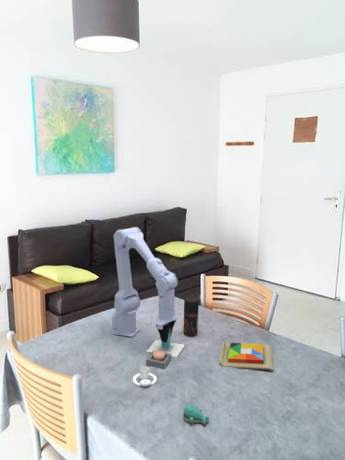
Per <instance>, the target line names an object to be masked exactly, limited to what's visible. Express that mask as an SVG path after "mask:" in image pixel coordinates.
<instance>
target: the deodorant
mask: <svg viewBox="0 0 345 460" xmlns="http://www.w3.org/2000/svg"><path fill="white" fill-rule="evenodd" d="M199 303H200V300H199V298H198V297H196V296H195V297H194V296H187V297H184V300H183V328H182V329H183V330H182V334H183V336H185V337H189V338H194V337H197V336H198V334H199V333H198V330H199V310H200V309H199V305H200V304H199Z"/></svg>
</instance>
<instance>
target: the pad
mask: <svg viewBox="0 0 345 460" xmlns="http://www.w3.org/2000/svg"><path fill="white" fill-rule="evenodd" d="M185 347H186V344H183V343H176V342H172V341H170V347H168V348H164V347H162V346H161V339H160V340H159V339H155V340H154V341H153V343H152V344H151V345H150V347H149V348H148V349H146V351H145V352H146V353H149V354H151V353H152V352H153V351H156V350H162V351H164V352H165V353H168V354H172V355H171V358H176V359H177V358H178V357H179V355H180V354H181V352H182V351H183V349H184V348H185Z"/></svg>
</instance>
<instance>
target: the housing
mask: <svg viewBox="0 0 345 460" xmlns="http://www.w3.org/2000/svg"><path fill="white" fill-rule="evenodd" d="M153 352H154V351H153ZM153 352H152V353H150V354H149V356H148V357H147V358H146V360H145V366H147V367H153V368H157V369H158V368H159V369H164V370H165V369H166V368H167V367H168V365H169V364H170V362H171V361H172V357H171V355H172V354H168V353H165V359H164V360H163V361H158V360H154V359H153Z"/></svg>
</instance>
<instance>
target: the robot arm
mask: <svg viewBox="0 0 345 460" xmlns="http://www.w3.org/2000/svg"><path fill="white" fill-rule="evenodd" d="M112 236H113V242H114V255H115V260H116V261H115V262H116V264H115V265H116V272H117V280H118V288H119V290H118V291H117V292H116V294H115V295H114V303H113V305H114V306H113V307H114V311H113V314H112V318H111V319H112V322H111V323H112V327H111V329H112V331H111V334H112V335H118V336H123V337H128V338H129V337H130V338H133V337H134V336H135V335H136V334H137V333H139V330H140V328H139V327H137V312H138V309H139V307H140V306H141V300H140V296H139V294H138V290H136V289H135V288H134V287H133V281H132V280H133V278H132V270H131V262H130V254H129V253H130V252H129V251H130V250H131V249H135V250H136V251H137V253H138V254H139V255H140V256H141V257H142V259H143V260H144V261H145V262H146V268H147V270H148V271H149V273H150V275H151V276H152V277H153V278H154V279H155V281H156V282H155V287H156V289H157V294H158V317H157V323H156V324H155V328H156V329H157V332H158V334H159V337H160V341H161V342H167V340H168V334H169V330H170V328H171V331H170V338H171V337H172V334H173V329H174V327H175V323H176V322H177V320H178V317H176V316H175V315H176V310H175V288H177V286H178V284H179V279H178V277H177V276H176V273H174V272H171V271H170V270H168V269H167V267H166V266H165V265H164V264H163V262H162V260H161V259H160V258H158V257H155V256H154V254H153V253H152V252H151V250H150V248H149V246H148V244H147V242H146V241H145V240H144V233H143V232H142V230H141V229H140V228H139V227H137V226H132V227H130V228H124V229H117V230H116V231H115V233H114V234H113V235H112Z"/></svg>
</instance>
